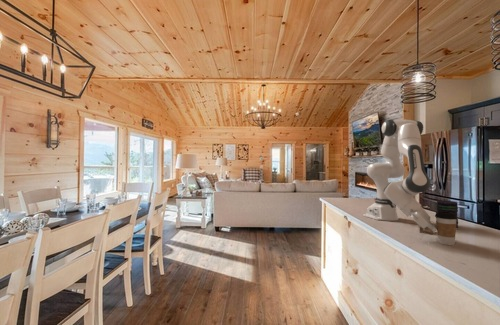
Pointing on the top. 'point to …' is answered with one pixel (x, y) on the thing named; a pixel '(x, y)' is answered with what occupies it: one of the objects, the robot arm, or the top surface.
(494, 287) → the top surface
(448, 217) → the coffee cup
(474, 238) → the top surface
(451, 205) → the storage jar
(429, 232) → the lettered cube
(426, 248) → the top surface
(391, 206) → the robot arm
